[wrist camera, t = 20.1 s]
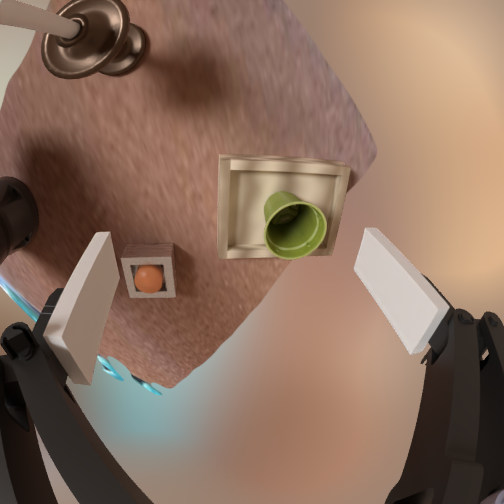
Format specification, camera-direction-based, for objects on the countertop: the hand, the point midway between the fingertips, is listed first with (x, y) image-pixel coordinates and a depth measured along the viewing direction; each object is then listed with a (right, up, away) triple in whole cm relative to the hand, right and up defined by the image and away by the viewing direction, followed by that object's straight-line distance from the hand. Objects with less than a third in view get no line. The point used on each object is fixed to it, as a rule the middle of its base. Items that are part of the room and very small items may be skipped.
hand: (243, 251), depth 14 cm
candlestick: (-20, +31, +16) cm, 40 cm away
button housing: (-18, -2, +37) cm, 42 cm away
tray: (+5, +8, +35) cm, 36 cm away
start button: (-18, -4, +35) cm, 40 cm away
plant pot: (+5, +8, +33) cm, 35 cm away
